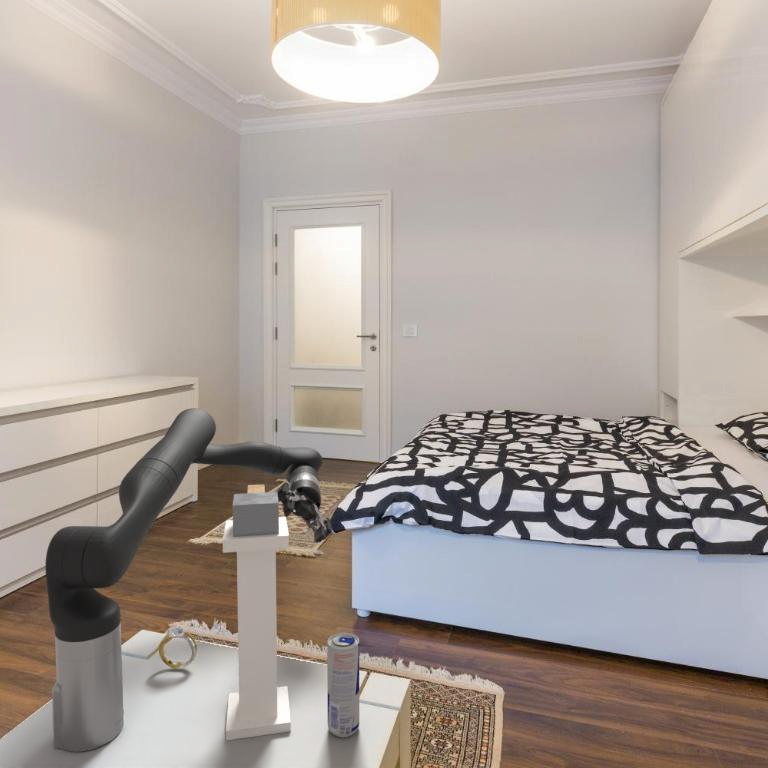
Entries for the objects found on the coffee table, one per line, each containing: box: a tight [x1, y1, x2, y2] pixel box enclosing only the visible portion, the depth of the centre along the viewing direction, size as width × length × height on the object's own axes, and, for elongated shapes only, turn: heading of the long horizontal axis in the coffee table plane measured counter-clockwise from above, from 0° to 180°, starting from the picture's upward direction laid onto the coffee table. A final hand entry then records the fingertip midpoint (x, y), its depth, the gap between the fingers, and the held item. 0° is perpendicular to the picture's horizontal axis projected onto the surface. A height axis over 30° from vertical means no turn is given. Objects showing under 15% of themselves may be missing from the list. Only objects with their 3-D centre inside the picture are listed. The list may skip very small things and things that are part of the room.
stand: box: [222, 516, 292, 741], centre depth 94 cm, size 10×10×32 cm
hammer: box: [232, 484, 280, 537], centre depth 98 cm, size 7×18×5 cm, turn 12°
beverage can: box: [326, 632, 360, 738], centre depth 91 cm, size 5×5×15 cm
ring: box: [158, 626, 198, 670], centre depth 109 cm, size 7×3×8 cm, turn 83°
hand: (304, 526), depth 115 cm, fingers open, 8 cm apart
